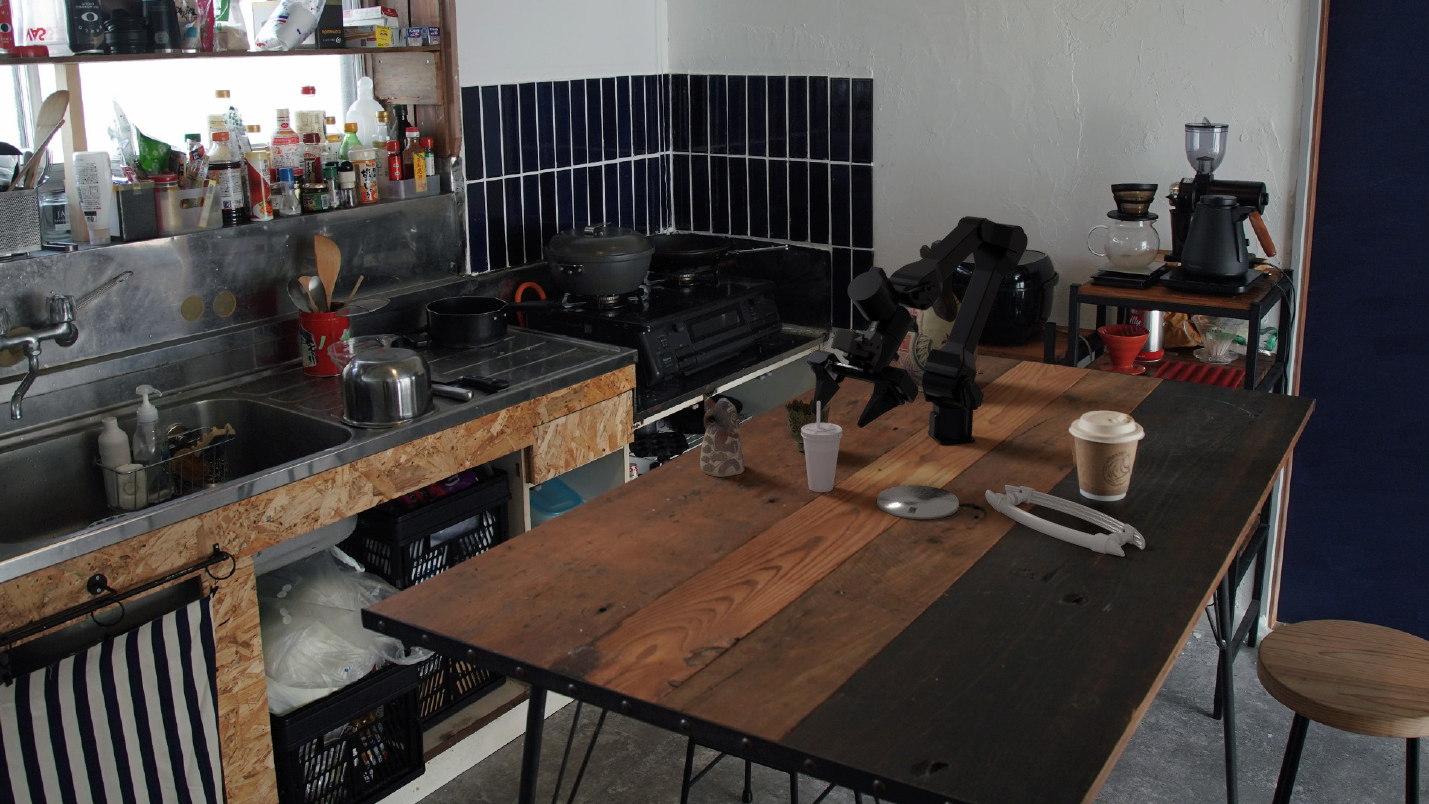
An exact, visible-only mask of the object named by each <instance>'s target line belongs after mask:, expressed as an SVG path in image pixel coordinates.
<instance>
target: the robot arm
mask: <svg viewBox="0 0 1429 804" xmlns="http://www.w3.org/2000/svg"><path fill="white" fill-rule="evenodd" d="M1028 238H1029V237H1028V235H1027V234H1026V233H1025V230H1024V228H1023V227H1022V226H1020V225H1017V224H1008V223H1001V222H1000V223H998V222H995V221H992V220H991V219H988V218H986V217H979V216H971V215H966V216H964V217H961V218H960V219H959V221H958V223H957V225H955V228H953V229H952V230H950V232H949V233H948V234H947V235H946V236H945V237H944V238H942V239H941V240H942V241H941V242H940V243H939V244H938V245H936V246H935V247H934V248H933V249H932V250H931V251H930V252H929V253H928V254H927V255H926V256H925V257H924V258H920V259H919V260H916V261H913V262H909V263H907V264H904V265H903V266H902V267H900V268H899V269H897V270H895V271H894V272H893V273H892V274H891V275H890V277H888V276H887V273H886V272H885V269H883V267H879V266H871V267H870V269H869V270H868V271H866V272H863V273H861V274H859V275H857V276H856V277H855V278H854V279H852V280H851V281H850V282H849V285H848V286H847V295H848V297H849V298H850V300H851V302H852V303H853V304H854V305H855V306H856V308H857V309H858V310H859V312H860V314H861V315H862V316H863V318H865V320H867V321H869V322H871V324H870V325H869V327H868V329H867V330H865V331H861V330H860V331H859V332H856V331H853V330H848V329H843V328H836V330H835V333H834V337H833V340H832V342H831V345H830V346H831V347H830V348H831V349H833V350H838V351H841V352H843V353H842V354H841V355H842V357H843V359H844V360H845V361H848V363H843V362H842V361H841V360H840V359H839V357H838V356H837V355H836V353H835V352H832V351H831V352H830V351H826V350H823V349H822V350H821V349H816V350H812V352H811V353H810V354H809V356H808V358H807V360H806V363H807V364H808V366H809V367H810V370H811V371H812V372H813V374H815V390H814V393H813V405H812V413H813V414H814V415H817V401H820V402H821V406H820V411H821V410H822V409H823V408H824V407H825V406H826V404H827V405H828V404H829V402H830V400H831V399H833V397H834V396H835V395H836V394H837V393H838V391H839V390H840V389H841V386H840V385H839V384H841V383H842V382H844V380H845V378H849V379H854V380H857V381H858V380H859V381H862V382H866V383H870V384H873V391H872V395H871V396H870V398H869V400H868V401H867V403H866V405H865V407H864V409H863V410H862V412H861V414H860V416H859V418H858V421H857V424H856V425H857V427H859V428H860V429H863V428H864V427H866V426H868V425H869V424H870V423H871V422H873V421H875V420H876V419H878V418H879V417H881V416H882V415H885V414H886V413H887V412H889V411H891V410H894V408H896V407H899V406H904V405H905V404H906V403H909V404H913V403H914V402H915V400H916V399H917V397H918V395H919V391H918V385H917V384H916V382H915V381H914V380H913V378H912V377H911V375H910V374H909V373H908V371H907V370H906V369H903V368H902V367H898V366H897V367H896V366H892V365H890V364H891V363H892V362H896V363H897V362H898V361H899V358H900V356H899V355H898V349H899V347H900V345H901V344H902V342H903V340H904V338H905V337H906V335H907V333H908V331H909V332H914V333H918V332H919V326H918V324H917V316H915V315H911V314H910V311H909V309H912V308H913V309H918V310H927V309H929V308H930V307H931V306H932V305H933V304H934V302H935V301H936V300H937V298H938V297H939V296H940V294H941V293H942V285H943V282H944V280H945V279H946V278H947V277H948V276H949V275H950V274H951V273H954V271H955V270H956V269H957V268H959V266H960V265H961V264H963V262H964V261H965V260H966V259H967V258H968V257H970V256H971V255H972V256H973V257H972V258H973V261H974V270H973V272H972V275H971V277H970V281H969V283H968V286H967V287H966V290H965V293H964V296H963V299H962V301H961V306H960V309H959V311H958V314H957V317H956V319H955V322H954V325H953V327H952V330H951V332H950V335H949V338H948V340H947V343H946V344H945V345H944V346H943V347H942V348H941V349H939V350H937V349H932V350H931V351H930V353H929V356H928V360H927V362H926V364H925V366H924V368H923V369H922V370H923V371H924V372H923V374H922V378H921V382H922V387H923V392H922V393H923V396H924V401H925V403H926V402H927V403H932V410H931V411H929V418H928V419H929V420H928V430H927V434H928V436H929V437H931V438H932V439H934V440H935V441H936V442H938V444H940V445H949V444H950V445H951V444H953V445H954V444H963V443H965V444H966V443H974V442H976V441H977V438H976V437H974V436H973V423H974V421H973V420H974V411H977V410H978V409H979V407H981V406H982V403H983V401H984V395H985V394H984V392H983V391H982V390H981V388H980V387H979V386H978V384H977V382H976V381H975V380H976V377H977V371H978V370H977V367H976V363H975V360H974V352H975V349H976V347H977V345H978V344H979V342H980V339H981V336H982V333H983V331H984V328H985V326H986V323H987V320H988V317H989V315H990V312H991V309H992V308H993V304H994V302H995V300H996V296H997V293H998V291H999V289H1000V287H1001V284H1002V280H1003V278H1004V277H1005V276H1007V275H1008V274H1010V272H1011V271H1012V270H1014V269H1015V268H1016V267H1017V266H1018V265H1019V263H1020V261H1021V259H1022V257H1023V255H1024V254H1025V252H1026V249H1027V247H1028V244H1029V240H1028Z"/></svg>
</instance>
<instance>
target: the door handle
mask: <svg viewBox="0 0 1429 804" xmlns="http://www.w3.org/2000/svg"><path fill="white" fill-rule="evenodd" d="M1004 490H1005V492H1006V493H1005V494H1003V493H999V492H996V493H994V492H993V491H992V490H991V489H987V490H986V491H985V495H984V496H985V500H986V501H987V502H988V504H989V505H990V506H992V508H993V509H994V510H995V511H997V512H998V513H1002V514H1003V515H1005V516H1006V517H1008V518H1010V519H1012V520H1014V521H1016V522H1017V523H1020V525H1021V524H1022V525H1023V526H1025V527H1027V528H1030V529H1033V530H1034V531H1036V532H1037V531H1038V533H1042V534H1045V535H1047V536H1050V537H1053V538H1055V539H1058V540H1061V541H1063V542H1067V543H1068V544H1069V543H1070V544H1073V545H1076V546H1080V547H1083V548H1086V549H1090V550H1091V551H1092V552H1095V553H1100V554H1104V555H1105V554H1106V555H1107V554H1109V555H1113V556H1114V555H1115V556H1118V557H1122V558H1123V557H1125V555H1126V554H1125V551H1124V550H1123V549H1122V546H1123V545H1126V543H1128V544H1129V545H1134V546H1136V547H1137V548H1139V549H1140V550H1144V549H1145V547H1146V540H1145V538H1144V536H1143V535H1142V534H1141V533H1140V532H1139V531H1138V530H1137V528H1136V527H1133V526H1132V525H1130V524H1129V523H1123V522H1122V521H1120V520H1117V519H1116V518H1113V517H1111V516H1110V515H1107V514H1105V513H1104V512H1101V511H1099V510H1096V509H1093V508H1091V507H1088V506H1085V505H1082V504H1080V503H1078V502H1074V501H1071V500H1068V499H1065V498H1061V497H1059V496H1058V497H1057V496H1054V495H1051V494H1047V493H1045V492H1040V491H1037V490H1036V489H1035V488H1034V487H1033V488H1032V487H1028V486H1024V485H1020V486H1014V485H1009V484H1005V485H1004ZM1021 503H1025V504H1027V505H1028V504H1034V505H1038V506H1042V507H1045V508H1048V509H1052V510H1056V511H1058V512H1062V513H1065V514H1067V515H1071V516H1073V517H1076V518H1079V519H1082V520H1084V521H1087V522H1089V523H1091V524H1094V525H1096V526H1099V527H1101V528H1103V529H1106V530H1107V531H1108V532H1111V533H1110V534H1104V533H1101V532H1099V533H1095V535H1094V534H1091V533H1087V532H1083V531H1080V530H1076V529H1073V528H1070V527H1067V526H1065V525H1064V526H1063V525H1060V524H1058V523H1055V522H1052V521H1049V520H1046V519H1044V518H1041V517H1039V516H1036V515H1034V514H1032V513H1030V512H1028V511H1026V510H1023V509H1021V508H1019V507H1017V506H1018V505H1020V504H1021Z"/></svg>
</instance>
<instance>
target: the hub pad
mask: <svg viewBox="0 0 1429 804" xmlns="http://www.w3.org/2000/svg"><path fill="white" fill-rule="evenodd" d="M876 501H877V504H876V505H877V507H878V508H879V509H880V510H881V511H883V512H885V513H886V514H889V515H891V516H894V517H898V518H903V519H910V520H921V521H922V520H926V521H927V520H937V519H938V520H939V519H942V518H946V517H949V516H951V515H953V514H955V513H956V512H957V511H958V510H959V505H960V501H959V499H958V497H957V496H956V495H955V494H954V493H952V492H950V491H947V490H946V489H943V488H939V487H935V486H930V485H929V486H928V485H920V484H918V485H917V484H909V485H907V484H906V485H905V484H904V485H898V486H897V485H896V486H892V487H889V488H886V489H884V490H882V491H880V492H879V493H878V494H877V500H876Z"/></svg>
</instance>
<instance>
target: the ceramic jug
mask: <svg viewBox="0 0 1429 804" xmlns="http://www.w3.org/2000/svg"><path fill="white" fill-rule="evenodd" d="M942 240H943V239H938V240H935V241H933V242H931V245H930V246H928V244H923V245H921V247H920V249H919V257H920V259H922V258H924V257H925V256H926V255H927V254H928V253H929V252H930V251H931V250H932V249H933V248H934V247H935V246H936V245H938V244H939V243H940V242H941V241H942ZM953 273H954V272H952V273H951V274H950V275H949V276H948V277H947V278H946V279H945V280H944V282H943V285H942V293H941V294H940V296H939V297H938V298H937V300H936V301H935V302H934V304H933V305H932V306H931V307H930V308H929V309H927V310H918V309H913V308H910V311H909V312H910V314H911V315H915V316H917V324H918V326H919V332H918V333H914V332H909V331H908V333H907V335H906V337H905V338H904V340H903V342H902V344H901V345H900V347H899V349H898V351H897V353H898V355H899V356H900V358H899V359H898V361H899V365H900V368H901V369H906V370H907V371H908V373H909V374H910V375H911V377H912V378H913V380H914V381H915V382H916V384H917V385H918V392H922V393H924V392H923V387H922V382H921V378H922V374H923V372H924V371H923V370H922V369H923V368H924V366H925V364H926V362H927V360H928V356H929V353H930V351H931V350H932V349H937V350H939V349H941V348H942V347H943V346H944V345H945V344H946V343H947V340H948V338H949V335H950V332H951V330H952V327H953V325H954V322H955V319H956V317H957V314H958V311H959V309H960V306H961V304H962V302H961V301H959V299H958V297H957V295H956V294H955V292H953V290H952V289H953V287H952V286H953V285H952V281H953ZM978 347H979V346H978V344H977V347H976V349H975V352H974V360H975V364H976V363H977V359H978V354H979V350H978V349H979V348H978Z"/></svg>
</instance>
